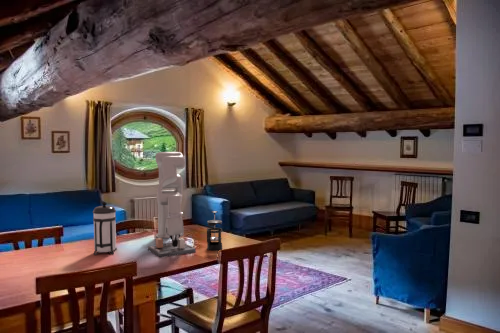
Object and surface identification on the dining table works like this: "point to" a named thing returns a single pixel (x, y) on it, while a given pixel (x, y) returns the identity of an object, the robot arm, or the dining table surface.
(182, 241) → the fader ivory
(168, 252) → the console
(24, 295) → the dining table surface
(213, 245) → the french press
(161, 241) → the fader terracotta
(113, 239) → the coffee press
